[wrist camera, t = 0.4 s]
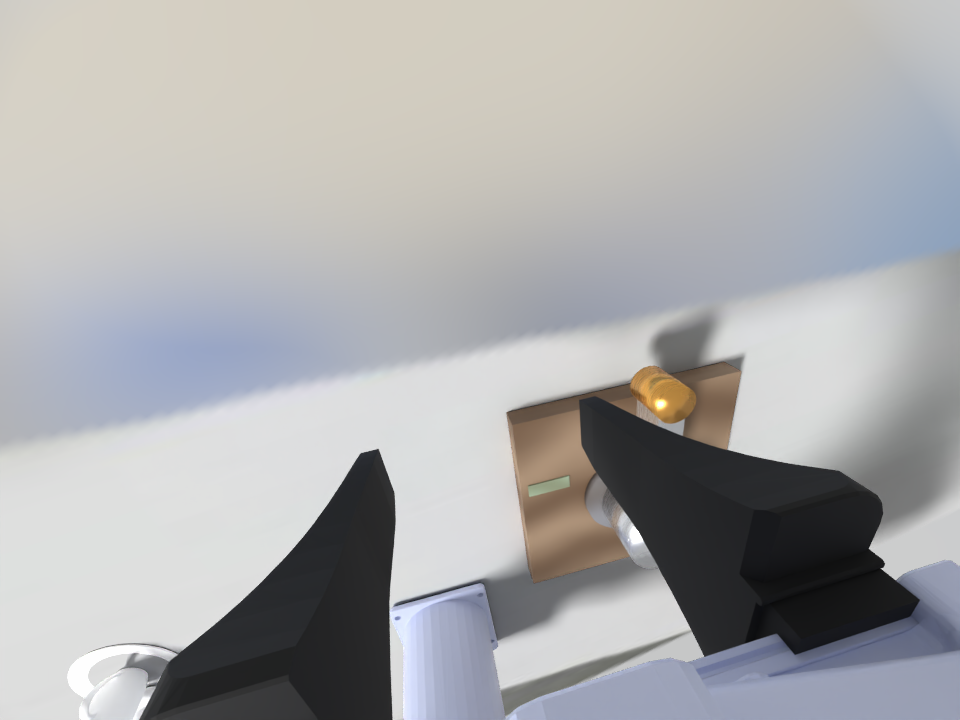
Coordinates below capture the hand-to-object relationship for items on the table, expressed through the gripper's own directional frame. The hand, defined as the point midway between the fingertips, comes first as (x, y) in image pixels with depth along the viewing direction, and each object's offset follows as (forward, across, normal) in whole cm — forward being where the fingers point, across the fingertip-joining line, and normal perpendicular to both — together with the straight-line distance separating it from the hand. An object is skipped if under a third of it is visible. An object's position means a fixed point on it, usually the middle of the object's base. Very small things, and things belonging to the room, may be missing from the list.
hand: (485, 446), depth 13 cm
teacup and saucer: (+11, +32, +23) cm, 41 cm away
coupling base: (+10, -10, +14) cm, 20 cm away
